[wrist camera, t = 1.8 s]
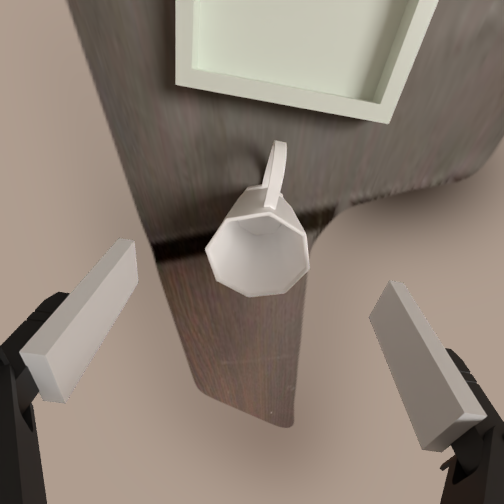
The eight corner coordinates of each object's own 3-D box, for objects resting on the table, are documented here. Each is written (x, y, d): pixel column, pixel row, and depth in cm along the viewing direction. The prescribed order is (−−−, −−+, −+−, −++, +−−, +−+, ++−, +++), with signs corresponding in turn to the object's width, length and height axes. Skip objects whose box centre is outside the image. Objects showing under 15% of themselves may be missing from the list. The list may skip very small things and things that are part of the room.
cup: (217, 232, 27) (199, 289, 20) (233, 120, 21) (216, 147, 14) (289, 246, 27) (295, 306, 20) (323, 140, 21) (347, 175, 15)
